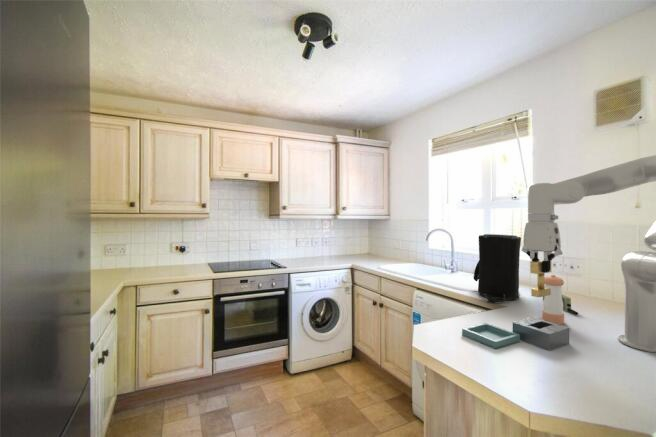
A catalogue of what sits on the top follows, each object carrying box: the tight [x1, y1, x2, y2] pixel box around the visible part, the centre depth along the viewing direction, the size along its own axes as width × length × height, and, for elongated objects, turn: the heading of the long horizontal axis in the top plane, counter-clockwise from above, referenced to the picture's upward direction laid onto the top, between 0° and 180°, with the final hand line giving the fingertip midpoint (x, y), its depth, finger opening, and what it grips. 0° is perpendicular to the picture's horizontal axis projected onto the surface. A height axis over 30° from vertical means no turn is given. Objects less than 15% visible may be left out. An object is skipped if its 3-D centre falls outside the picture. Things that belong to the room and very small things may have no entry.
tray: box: [461, 322, 521, 350], centre depth 107 cm, size 13×13×2 cm
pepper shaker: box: [541, 274, 565, 325], centre depth 124 cm, size 7×7×19 cm
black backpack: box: [473, 233, 522, 303], centre depth 163 cm, size 23×32×34 cm
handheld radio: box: [542, 293, 579, 316], centre depth 143 cm, size 7×3×25 cm
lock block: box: [512, 316, 570, 352], centre depth 105 cm, size 12×12×6 cm
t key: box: [529, 259, 552, 298], centre depth 105 cm, size 8×2×12 cm, turn 116°
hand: (540, 270), depth 104 cm, fingers closed on t key, 2 cm apart
